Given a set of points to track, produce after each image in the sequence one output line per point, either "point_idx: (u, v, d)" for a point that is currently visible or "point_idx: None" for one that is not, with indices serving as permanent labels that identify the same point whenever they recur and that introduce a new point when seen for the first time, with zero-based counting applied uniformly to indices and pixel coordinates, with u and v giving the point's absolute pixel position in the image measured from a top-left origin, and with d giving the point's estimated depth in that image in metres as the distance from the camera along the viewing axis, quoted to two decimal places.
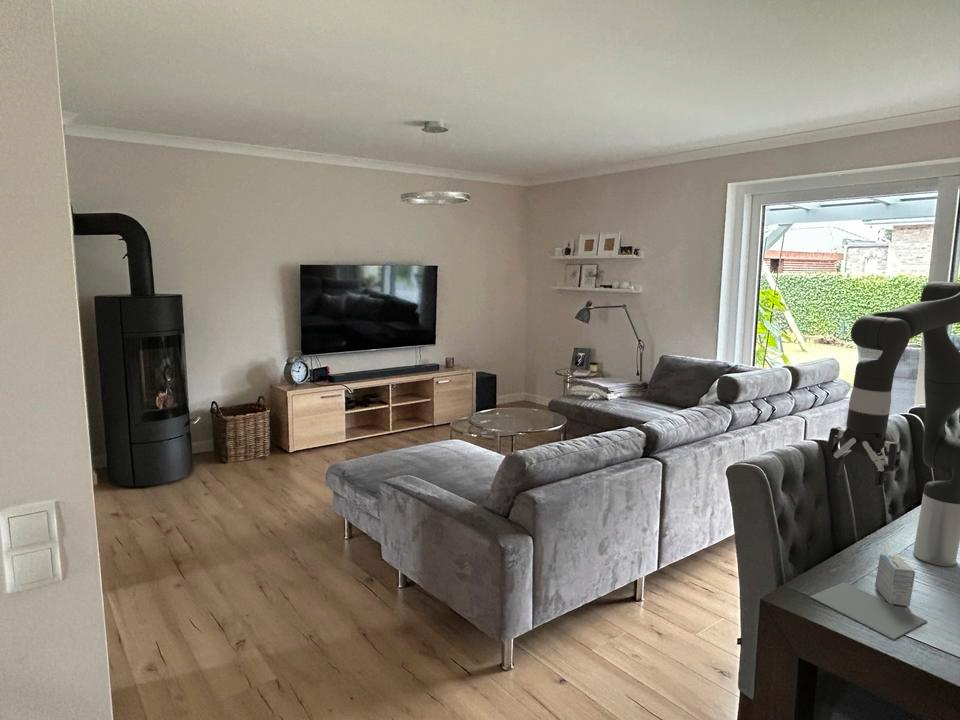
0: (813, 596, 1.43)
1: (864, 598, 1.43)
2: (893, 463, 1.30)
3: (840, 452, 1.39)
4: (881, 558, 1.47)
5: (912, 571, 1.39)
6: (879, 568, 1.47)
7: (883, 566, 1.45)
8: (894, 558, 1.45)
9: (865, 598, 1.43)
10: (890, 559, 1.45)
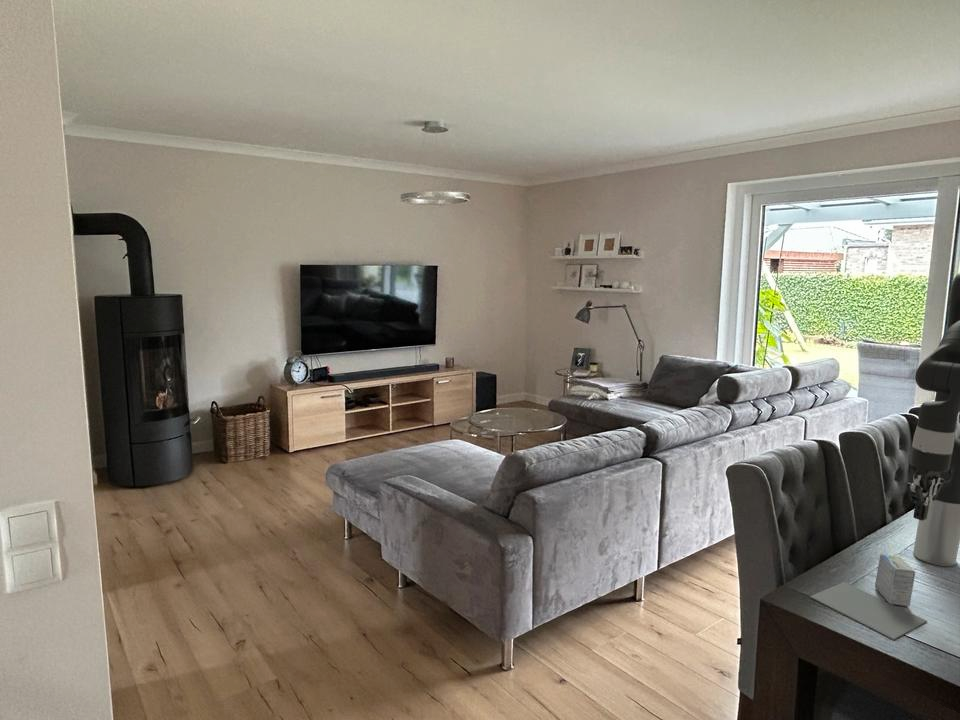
0: (813, 596, 1.43)
1: (864, 598, 1.43)
2: (937, 495, 1.45)
3: (927, 498, 1.43)
4: (881, 558, 1.47)
5: (912, 571, 1.39)
6: (879, 568, 1.47)
7: (883, 566, 1.45)
8: (894, 558, 1.45)
9: (865, 598, 1.43)
10: (890, 559, 1.45)
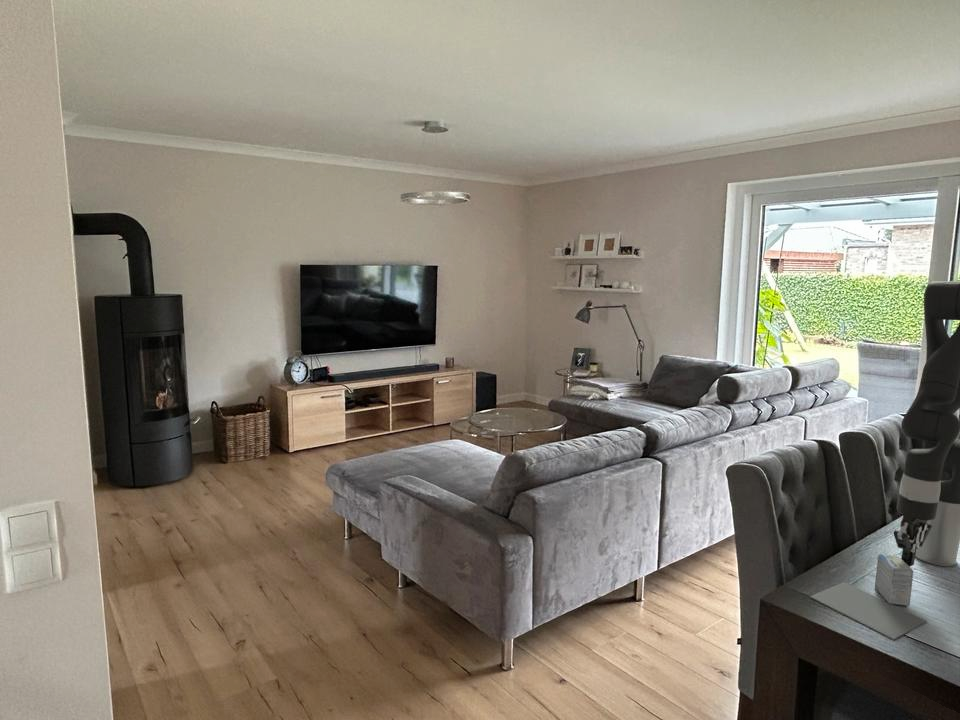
0: (813, 596, 1.43)
1: (864, 598, 1.43)
2: (924, 540, 1.46)
3: (914, 545, 1.44)
4: (879, 558, 1.47)
5: (910, 570, 1.40)
6: (878, 568, 1.47)
7: (881, 566, 1.46)
8: (892, 558, 1.45)
9: (865, 598, 1.43)
10: (888, 559, 1.45)
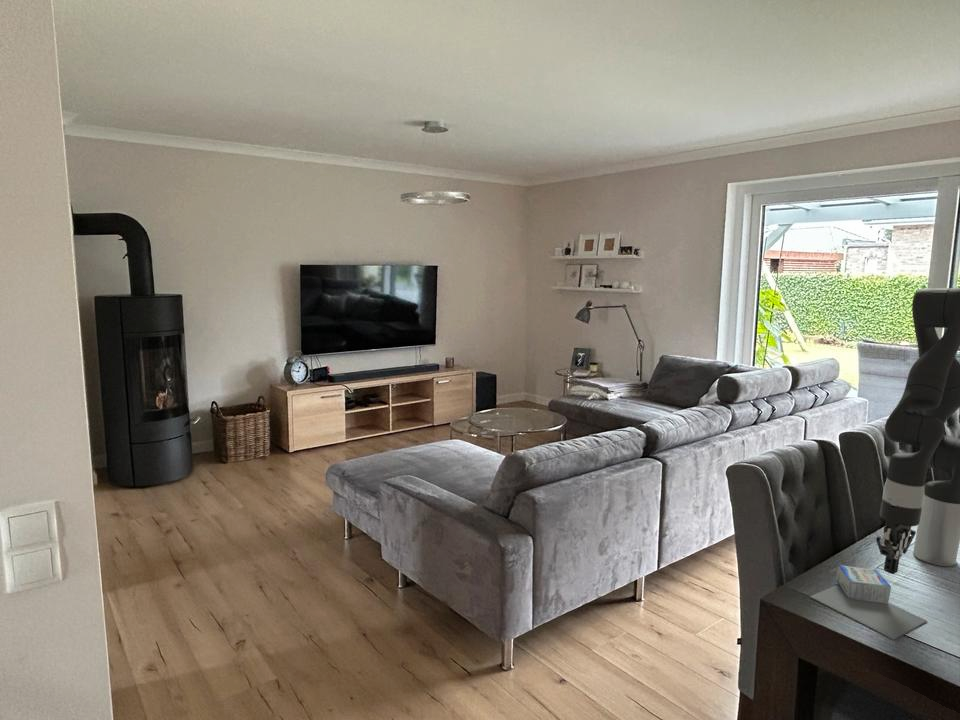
0: (813, 596, 1.43)
1: None
2: (908, 547, 1.42)
3: (898, 552, 1.40)
4: None
5: (850, 583, 1.42)
6: None
7: None
8: (839, 577, 1.48)
9: None
10: (840, 582, 1.48)
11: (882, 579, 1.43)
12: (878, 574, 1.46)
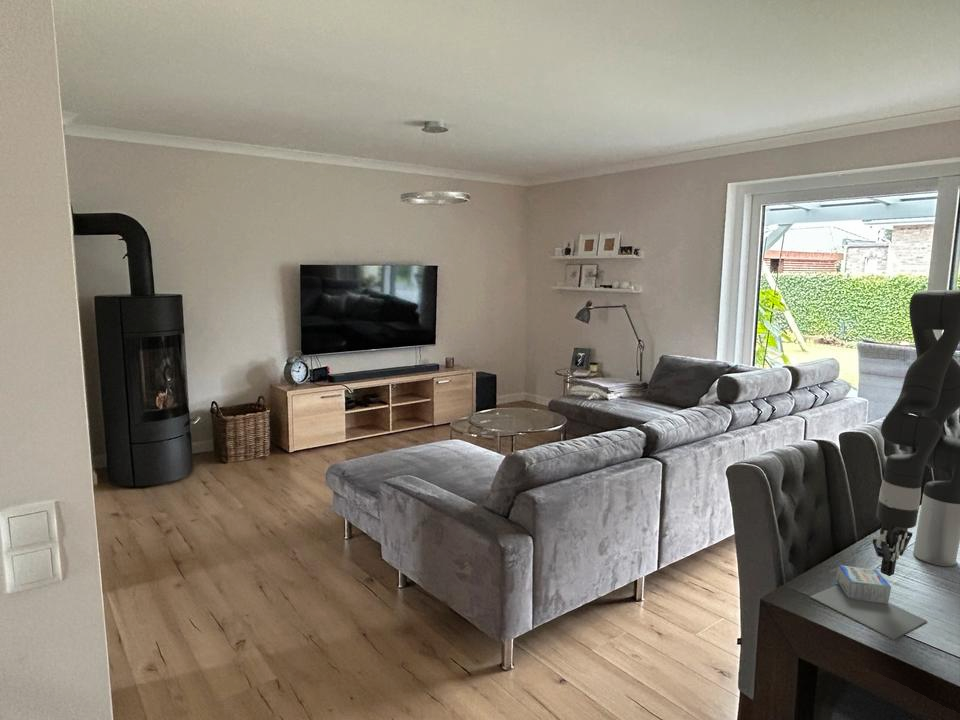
0: (813, 596, 1.43)
1: None
2: (904, 549, 1.41)
3: (894, 554, 1.39)
4: None
5: (850, 583, 1.42)
6: None
7: None
8: (839, 577, 1.48)
9: None
10: (840, 582, 1.48)
11: (882, 579, 1.43)
12: (878, 574, 1.46)
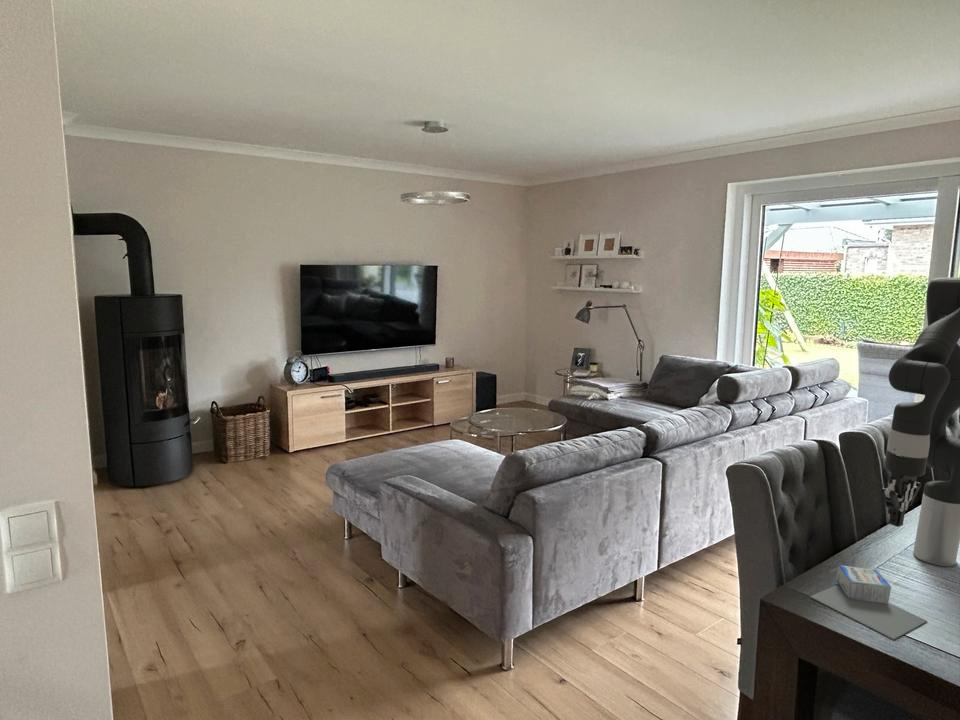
0: (813, 596, 1.43)
1: None
2: (913, 499, 1.39)
3: (903, 504, 1.37)
4: None
5: (850, 583, 1.42)
6: None
7: None
8: (839, 577, 1.48)
9: None
10: (840, 582, 1.48)
11: (882, 579, 1.43)
12: (878, 574, 1.46)
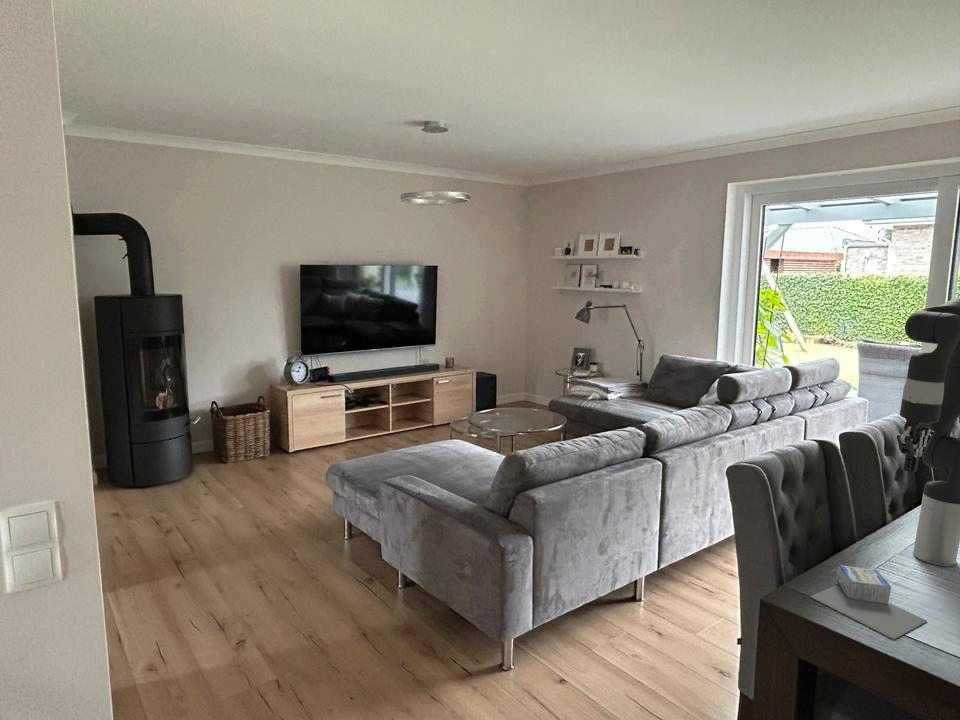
0: (813, 596, 1.43)
1: None
2: (927, 447, 1.45)
3: (917, 450, 1.43)
4: None
5: (850, 583, 1.42)
6: None
7: None
8: (839, 577, 1.48)
9: None
10: (840, 582, 1.48)
11: (882, 579, 1.43)
12: (878, 574, 1.46)
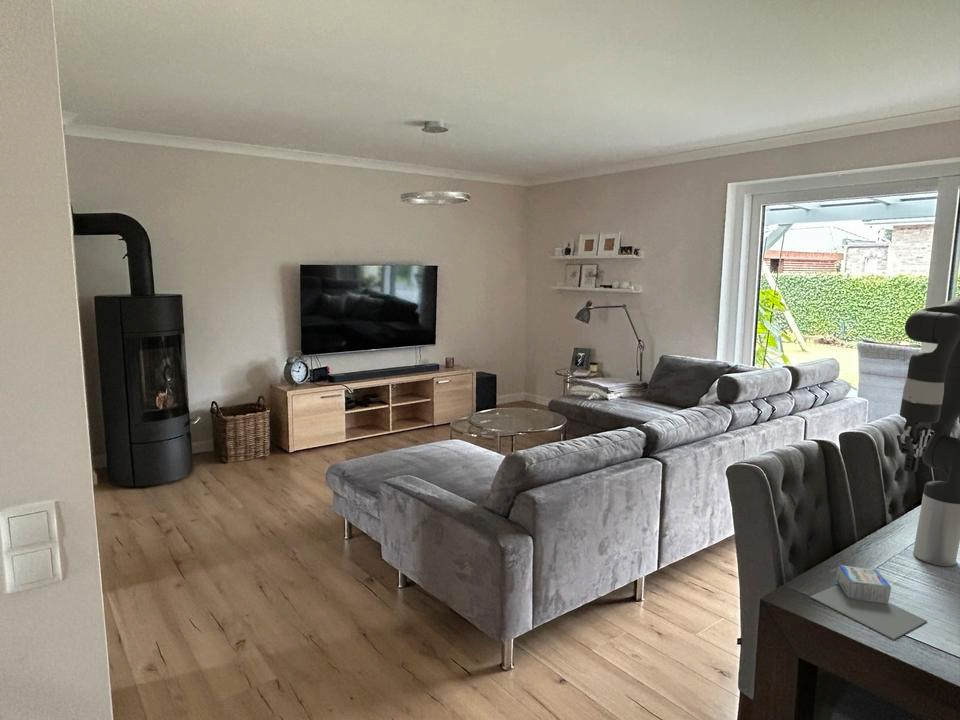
0: (813, 596, 1.43)
1: None
2: (927, 447, 1.45)
3: (917, 450, 1.43)
4: None
5: (850, 583, 1.42)
6: None
7: None
8: (839, 577, 1.48)
9: None
10: (840, 582, 1.48)
11: (882, 579, 1.43)
12: (878, 574, 1.46)
